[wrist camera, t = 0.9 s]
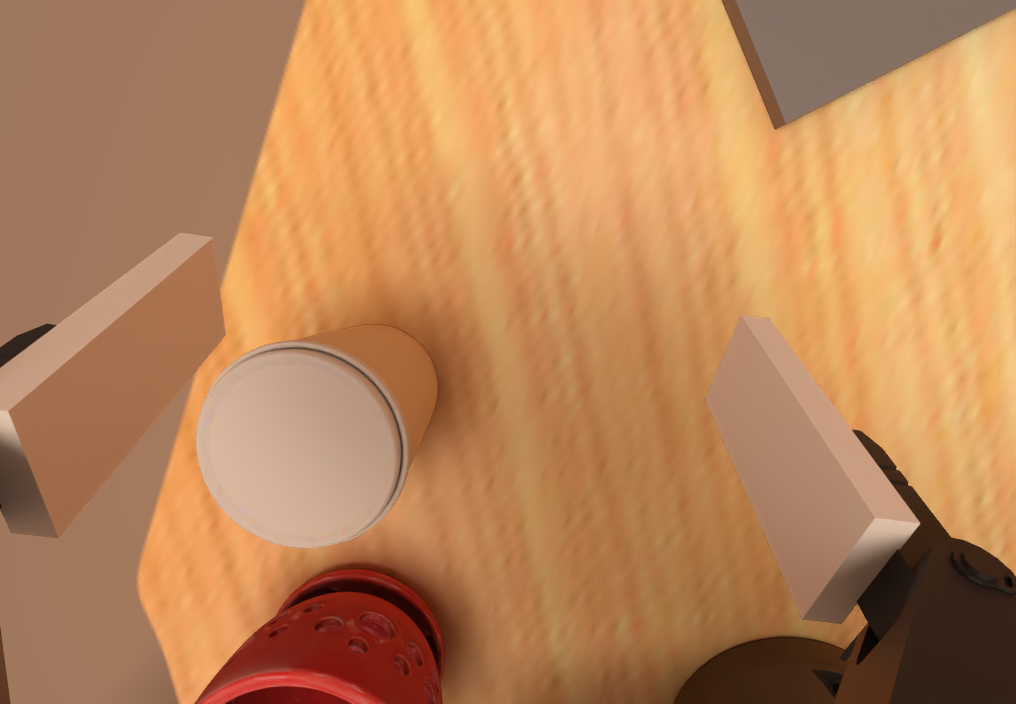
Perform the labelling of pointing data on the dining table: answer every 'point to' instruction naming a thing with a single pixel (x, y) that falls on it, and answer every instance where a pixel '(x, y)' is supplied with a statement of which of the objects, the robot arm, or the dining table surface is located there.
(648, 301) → the dining table surface
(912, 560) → the robot arm
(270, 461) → the coffee cup
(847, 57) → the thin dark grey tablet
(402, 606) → the plant pot
